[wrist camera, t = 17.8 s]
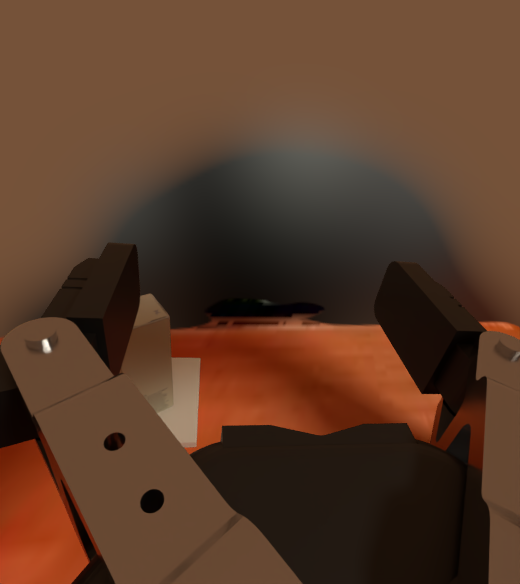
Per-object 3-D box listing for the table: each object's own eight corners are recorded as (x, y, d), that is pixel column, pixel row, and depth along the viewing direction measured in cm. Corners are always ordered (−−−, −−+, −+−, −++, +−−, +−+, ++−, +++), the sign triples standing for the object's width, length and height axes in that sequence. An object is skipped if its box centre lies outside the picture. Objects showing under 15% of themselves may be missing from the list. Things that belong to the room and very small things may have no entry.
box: (158, 381, 42) (154, 290, 35) (174, 407, 39) (173, 315, 32) (112, 399, 39) (97, 304, 32) (126, 429, 36) (113, 332, 29)
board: (200, 362, 46) (200, 358, 46) (196, 446, 36) (196, 442, 36) (103, 361, 44) (102, 356, 44) (71, 449, 34) (69, 444, 34)
